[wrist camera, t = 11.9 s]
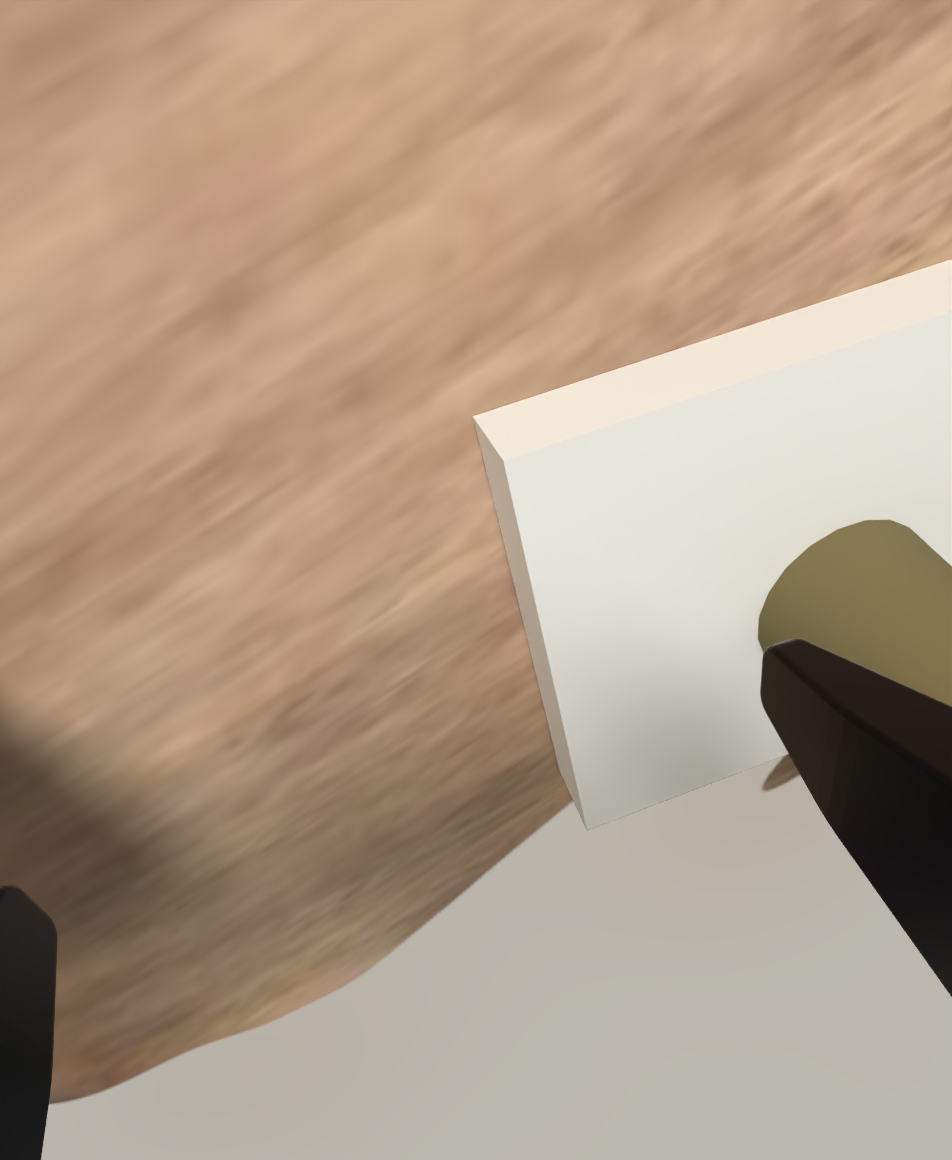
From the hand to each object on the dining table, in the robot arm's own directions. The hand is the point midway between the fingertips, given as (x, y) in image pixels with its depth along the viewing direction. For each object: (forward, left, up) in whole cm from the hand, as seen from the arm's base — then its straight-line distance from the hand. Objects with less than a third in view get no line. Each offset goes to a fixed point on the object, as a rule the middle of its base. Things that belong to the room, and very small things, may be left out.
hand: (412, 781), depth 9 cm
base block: (+12, -10, -13) cm, 20 cm away
